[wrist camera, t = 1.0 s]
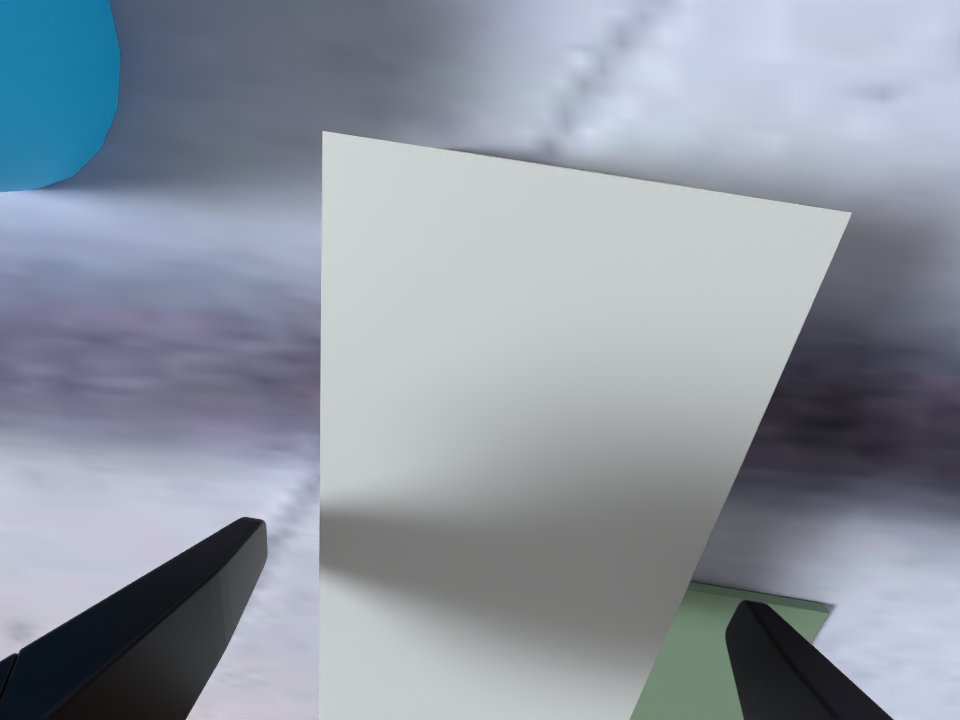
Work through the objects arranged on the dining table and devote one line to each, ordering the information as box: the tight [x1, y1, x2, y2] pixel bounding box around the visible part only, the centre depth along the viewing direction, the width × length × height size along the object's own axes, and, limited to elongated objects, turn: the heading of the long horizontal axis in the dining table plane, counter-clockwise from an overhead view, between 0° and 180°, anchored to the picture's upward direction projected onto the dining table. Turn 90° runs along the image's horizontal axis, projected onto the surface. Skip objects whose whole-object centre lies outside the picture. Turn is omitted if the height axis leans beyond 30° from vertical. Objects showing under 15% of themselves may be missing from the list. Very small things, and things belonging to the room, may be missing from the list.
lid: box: [318, 131, 852, 720], centre depth 10 cm, size 14×7×2 cm, turn 172°
